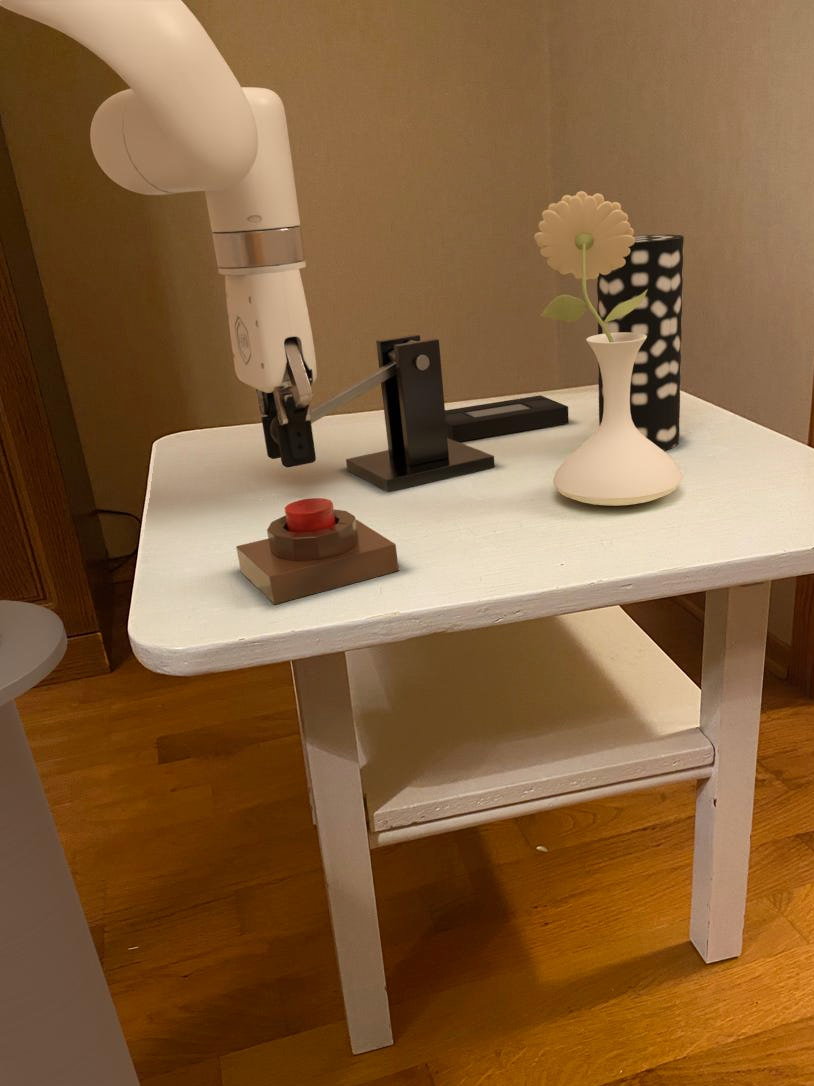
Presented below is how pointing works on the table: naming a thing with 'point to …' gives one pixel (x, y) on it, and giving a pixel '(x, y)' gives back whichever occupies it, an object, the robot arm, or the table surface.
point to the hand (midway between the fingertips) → (291, 458)
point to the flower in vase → (603, 358)
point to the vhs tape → (504, 417)
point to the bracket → (415, 423)
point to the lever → (347, 393)
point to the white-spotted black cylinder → (649, 332)
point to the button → (310, 515)
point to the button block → (315, 558)
